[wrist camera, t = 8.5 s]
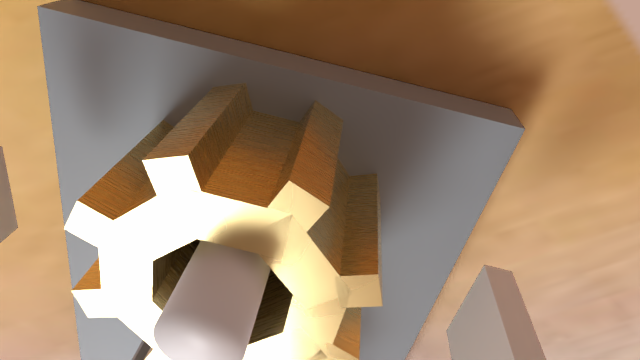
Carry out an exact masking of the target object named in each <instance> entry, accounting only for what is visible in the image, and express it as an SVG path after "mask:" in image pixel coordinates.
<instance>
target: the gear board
mask: <svg viewBox="0 0 640 360" xmlns="http://www.w3.org/2000/svg"><path fill="white" fill-rule="evenodd" d="M37 7H38V15H39V23H40V31H41V39H42V47H43V56H44V64H45V72H46V80H47V88H48V96H49V104H50V112H51V120H52V129H53V137H54V145H55V153H56V161H57V169H58V177H59V185H60V194H61V202H62V210H63V218H64V226H65V225H66V223H67V221H68V219H69V217H70V215H71V213H72V210H73V208H74V206H75V204H76V202H77V200H78V199H79V198H80V197H82V196H83V195H84V194H85V193H86V192H87V191H88V190H89V189H90V188H91V187H92V186H93V185H94V184H95V183H96V182H97V181H99V180H100V179H101V178H102V177H103V176H104V175H105V174H106V173H107V172H108V171H109V170H110V169H111V168H112V167H113V166H114V165H116V164H117V163H118V162H119V161H120V160H121V159H122V158H123V157H124V156H125V155H126V154H127V153H128V152H129V151H130V150H132V149H133V148H134V147H135V146H136V145H137V144H138V143H139V142H140V141H141V140H142V139H143V138H144V137H145V136H146V135H147V134H149V133H150V132H151V131H152V130H153V129H154V128H155V127H156V126H157V125H158V124H159V123H160V122H161V121H162V120H164V121H165V122H167V123H169V124H170V125H172V126H173V127H175V126H176V125H177V124H178V123H179V122H180V121H181V120H182V119H183V118H184V117H185V116H186V115H187V114H188V113H189V112H190V111H191V110H192V109H193V108H194V107H195V106H196V105H197V103H198V102H199V101H200V100H201V99H202V98H203V97H204V96H205V95H206V94H207V93H208V92H209V91H210V90H211V89H212V88H213V87H219V86H226V85H233V84H240V83H246V85H247V89H248V93H249V97H250V100H251V104H252V108H253V111H257V112H261V113H265V114H269V115H273V116H276V117H280V118H284V119H288V120H292V121H296V122H300V120H301V119H302V118H303V116H304V115H305V114H306V112H307V111H308V110H309V108H310V107H311V106H312V104H313V103H314V102H315V100H316V101H317V102H319V103H320V104H321V105H323V106H324V107H326V108H327V109H328V110H330V111H331V112H333V113H334V114H335V115H337V116H338V117H340V118H341V119H343V125H342V132H341V138H340V144H339V151H338V157H337V158H338V159H339V161H340V162H341V164H342V165H343V167H344V168H345V170H346V171H347V173H348V174H349V176H356V175H367V174H377V176H378V184H379V192H380V200H381V250H382V300H383V306H377V307H361V327H360V355H359V360H405V358H406V356H407V354H408V353H409V351H410V349H411V347H412V345H413V343H414V341H415V339H416V337H417V335H418V333H419V331H420V330H421V328H422V326H423V324H424V322H425V320H426V318H427V316H428V314H429V312H430V310H431V308H432V307H433V305H434V303H435V301H436V299H437V297H438V295H439V293H440V291H441V289H442V287H443V286H444V284H445V282H446V280H447V278H448V276H449V274H450V272H451V270H452V268H453V266H454V264H455V263H456V261H457V259H458V257H459V255H460V253H461V251H462V249H463V247H464V245H465V243H466V241H467V240H468V238H469V236H470V234H471V232H472V230H473V228H474V226H475V224H476V222H477V220H478V218H479V217H480V215H481V213H482V211H483V209H484V207H485V205H486V203H487V201H488V199H489V197H490V196H491V194H492V192H493V190H494V188H495V186H496V184H497V182H498V180H499V178H500V176H501V174H502V173H503V171H504V169H505V167H506V165H507V163H508V161H509V159H510V157H511V155H512V153H513V151H514V150H515V148H516V146H517V144H518V142H519V140H520V138H521V136H522V134H523V132H524V130H525V128H524V126H523V125H522V124H521V122H520V121H519V120H518V118H517V117H516V115H515V114H514V113H513V111H512V110H511V109H508V108H504V107H500V106H496V105H493V104H489V103H485V102H481V101H477V100H473V99H469V98H465V97H461V96H457V95H453V94H449V93H445V92H441V91H437V90H433V89H429V88H425V87H421V86H417V85H413V84H409V83H405V82H401V81H398V80H394V79H390V78H386V77H382V76H378V75H374V74H370V73H366V72H362V71H358V70H354V69H350V68H346V67H342V66H338V65H334V64H330V63H326V62H322V61H318V60H314V59H310V58H306V57H302V56H299V55H295V54H291V53H287V52H283V51H279V50H275V49H271V48H267V47H263V46H259V45H255V44H251V43H247V42H243V41H239V40H235V39H231V38H227V37H223V36H219V35H215V34H211V33H207V32H204V31H200V30H196V29H192V28H188V27H184V26H180V25H176V24H172V23H168V22H164V21H160V20H156V19H152V18H148V17H144V16H140V15H136V14H132V13H128V12H124V11H120V10H116V9H112V8H108V7H105V6H101V5H97V4H93V3H89V2H85V1H81V0H60V1H56V2H52V3H48V4H44V5H40V6H37ZM65 234H66V242H67V250H68V258H69V267H70V275H71V283H72V289H73V288H74V287H75V286H76V284H77V283H78V282H79V281H80V279H81V278H82V277H83V276H84V275H85V273H86V272H87V271H88V270H89V269H90V267H91V266H92V265H93V264H94V262H95V261H96V260H97V259H98V258H99V248H98V247H96V246H95V245H93V244H91V243H89V242H87V241H85V240H84V239H82V238H80V237H78V236H76V235H74V234H73V233H71V232H69V231H67V230H65ZM270 269H271V268H270V267H269V266H268V265H267V264H266V262H265V261H264V260H263V259H262V258H261V257H260V255H259V254H257V253H253V252H249V251H244V250H240V249H236V248H232V247H228V246H224V245H220V244H216V243H212V242H208V241H204V240H201V241H200V243H199V245H198V246H197V248H196V250H195V252H194V254H193V256H192V257H191V259H190V261H189V263H188V265H187V267H186V268H185V270H184V272H183V274H182V276H181V278H180V279H179V281H178V283H177V285H176V287H175V289H174V290H173V292H172V294H171V296H170V298H169V300H168V301H167V303H166V305H165V307H164V309H163V311H162V312H161V314H160V316H159V318H158V320H157V322H156V323H155V326H154V329H153V336H154V340H155V342H156V344H157V346H158V348H159V349H160V350H161V351H162V353H163V354H164V355H165V356H167V357H168V358H169V359H170V360H243V359H244V356H245V353H246V350H247V346H248V343H249V340H250V336H251V333H252V330H253V326H254V323H255V320H256V316H257V313H258V310H259V306H260V303H261V300H262V296H263V293H264V290H265V286H266V283H267V280H268V276H269V273H270ZM73 299H74V307H75V315H76V323H77V331H78V340H79V348H80V356H81V360H144V359H145V357H146V355H147V353H148V351H149V349H150V347H151V346H150V345H149V344H147V343H146V342H145V341H144V340H143V339H142V338H141V337H140V336H138V335H137V334H136V333H135V332H134V331H133V330H132V329H131V328H129V327H128V326H127V325H126V324H125V323H124V322H123V321H121V320H120V319H119V318H118V317H99V318H88V316H87V315H86V313H85V312H84V310H83V308H82V307H81V305H80V304H79V302H78V300H77V299H76V297H75V296H74V294H73Z"/></svg>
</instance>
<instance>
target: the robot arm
mask: <svg viewBox="0 0 640 360" xmlns="http://www.w3.org/2000/svg"><path fill="white" fill-rule="evenodd" d="M17 228H18V225H17V220H16V215H15V209H14V204H13V199H12V194H11V189H10V184H9V179H8V174H7V169H6V164H5V159H4V154H3V148H2V147H1V146H0V243H1V242H2V241H3V240H4V239H5V238H6V237H8V236H9V235H10V234H11V233H12V232H13V231H15V230H16V229H17ZM447 336H448V342H449V348H450V353H451V359H452V360H546V358H545V355H544V353H543V350H542V347H541V345H540V342H539V340H538V337H537V335H536V332H535V330H534V327H533V324H532V322H531V319H530V317H529V314H528V312H527V309H526V306H525V304H524V301H523V299H522V296H521V294H520V291H519V289H518V286H517V283H516V281H515V278H514V276H513V273H512V271H508V270H504V269H500V268H496V267H492V266H488V265H484V266H483V268H482V270H481V271H480V273H479V275H478V277H477V278H476V280H475V282H474V284H473V285H472V287H471V289H470V291H469V292H468V294H467V296H466V298H465V299H464V301H463V303H462V305H461V306H460V308H459V310H458V312H457V313H456V315H455V317H454V319H453V320H452V322H451V324H450V326H449V327H448V329H447Z"/></svg>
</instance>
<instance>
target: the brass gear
mask: <svg viewBox="0 0 640 360" xmlns="http://www.w3.org/2000/svg"><path fill="white" fill-rule="evenodd" d="M342 125H343V119H341V118H340V117H338V116H337V115H335V114H334V113H333V112H331V111H330V110H328V109H327V108H326V107H324V106H323V105H321V104H320V103H319V102H317V101H316V100H315V102H314V103H313V104H312V106H311V107H310V108H309V110H308V111H307V112H306V114H305V115H304V116H303V118H302V119H301V120H300V122H296V121H292V120H288V119H284V118H280V117H276V116H273V115H269V114H265V113H261V112H257V111H253V108H252V104H251V100H250V97H249V93H248V89H247V85H246V83H240V84H233V85H226V86H219V87H213V88H212V89H211V90H210V91H209V92H208V93H207V94H206V95H205V96H204V97H203V98H202V99H201V100H200V101H199V102H198V103H197V105H196V106H195V107H194V108H193V109H192V110H191V111H190V112H189V113H188V114H187V115H186V116H185V117H184V118H183V119H182V120H181V121H180V122H179V123H178V124H177V125H176V126H175V127H173V126H172V125H170V124H169V123H167V122H165V121H164V120H162V121H161V122H160V123H159V124H158V125H157V126H156V127H155V128H154V129H153V130H152V131H151V132H150V133H149V134H147V135H146V136H145V137H144V138H143V139H142V140H141V141H140V142H139V143H138V144H137V145H136V146H135V147H134V148H133V149H132V150H130V151H129V152H128V153H127V154H126V155H125V156H124V157H123V158H122V159H121V160H120V161H119V162H118V163H117V164H116V165H114V166H113V167H112V168H111V169H110V170H109V171H108V172H107V173H106V174H105V175H104V176H103V177H102V178H101V179H100V180H99V181H97V182H96V183H95V184H94V185H93V186H92V187H91V188H90V189H89V190H88V191H87V192H86V193H85V194H84V195H83V196H82V197H80V198H79V199H78V200H77V202H76V204H75V206H74V208H73V210H72V213H71V215H70V217H69V219H68V221H67V223H66V225H65V227H64V229H65V230H67V231H69V232H71V233H73V234H74V235H76V236H78V237H80V238H82V239H84V240H85V241H87V242H89V243H91V244H93V245H95V246H96V247H98V248H99V258H98V259H97V260H96V261H95V262H94V264H93V265H92V266H91V267H90V269H89V270H88V271H87V272H86V273H85V275H84V276H83V277H82V278H81V279H80V281H79V282H78V283H77V284H76V286H75V287H74V288H73V289H72V290H71V291H72V292H73V294H74V296H75V297H76V299H77V300H78V302H79V304H80V305H81V307H82V308H83V310H84V312H85V313H86V315H87V316H88V318H99V317H118V318H119V319H120V320H121V321H123V322H124V323H125V324H126V325H127V326H128V327H129V328H131V329H132V330H133V331H134V332H135V333H136V334H137V335H138V336H140V337H141V338H142V339H143V340H144V341H145V342H146V343H147V344H149V345H150V346H151V347H150V349H149V351H148V353H147V355H146V357H145V359H144V360H170V359H169V358H168V357H167V356H165V355H164V354H163V353H162V351H161V350H160V349H159V348H158V346H157V344H156V342H155V340H154V336H153V329H154V326H155V323H156V322H157V320H158V318H159V316H160V314H161V312H162V311H163V309H164V307H165V305H166V303H167V301H168V300H169V298H170V296H171V294H172V292H173V290H174V289H175V287H176V285H177V283H178V281H179V279H180V278H181V276H182V274H183V272H184V270H185V268H186V267H187V265H188V263H189V261H190V259H191V257H192V256H193V254H194V252H195V250H196V248H197V246H198V245H199V243H200V241H201V240H204V241H208V242H212V243H216V244H220V245H224V246H228V247H232V248H236V249H240V250H244V251H249V252H253V253H257V254H259V255H260V257H261V258H262V259H263V260H264V261H265V262H266V264H267V265H268V266H269V267H270V268H271V269H270V273H269V276H268V280H267V283H266V286H265V290H264V293H263V296H262V300H261V303H260V306H259V310H258V313H257V316H256V320H255V323H254V326H253V330H252V333H251V336H250V340H249V343H248V346H247V350H246V353H245V356H244V359H243V360H359V355H360V327H361V307H377V306H383V300H382V250H381V200H380V192H379V184H378V176H377V174H367V175H356V176H349V174H348V173H347V171H346V170H345V168H344V167H343V165H342V164H341V162H340V161H339V159H338V158H337V157H338V151H339V144H340V138H341V132H342Z"/></svg>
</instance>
